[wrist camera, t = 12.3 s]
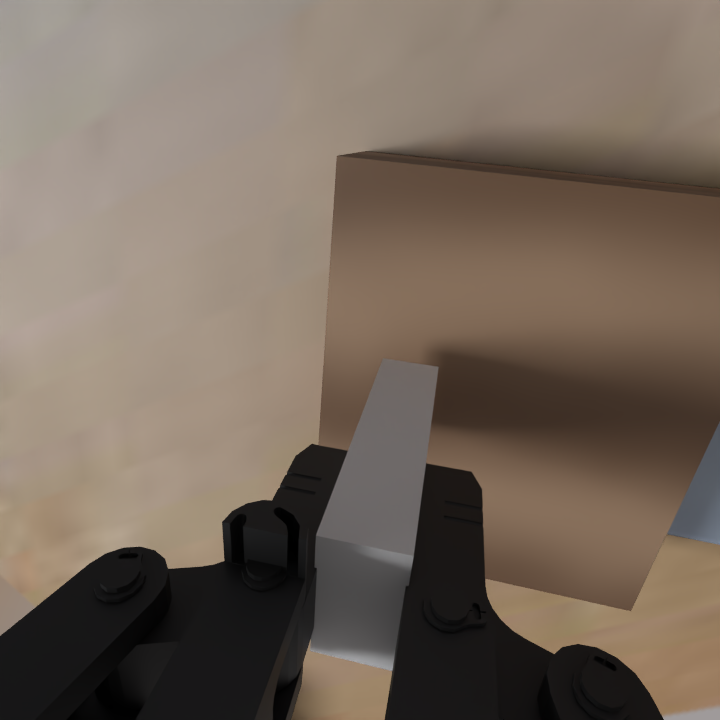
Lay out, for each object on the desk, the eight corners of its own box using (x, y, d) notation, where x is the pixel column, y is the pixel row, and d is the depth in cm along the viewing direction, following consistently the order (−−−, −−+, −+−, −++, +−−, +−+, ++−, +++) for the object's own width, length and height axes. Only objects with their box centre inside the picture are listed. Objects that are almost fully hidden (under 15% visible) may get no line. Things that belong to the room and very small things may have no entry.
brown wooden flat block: (366, 151, 16) (336, 156, 13) (733, 190, 15) (819, 207, 11) (338, 473, 22) (312, 539, 18) (602, 526, 20) (631, 611, 17)
